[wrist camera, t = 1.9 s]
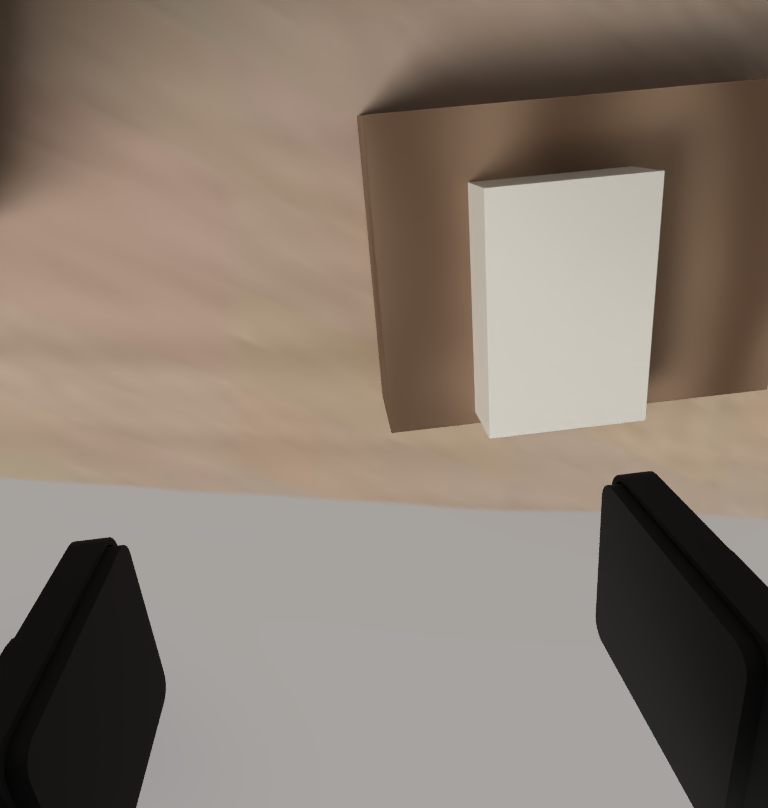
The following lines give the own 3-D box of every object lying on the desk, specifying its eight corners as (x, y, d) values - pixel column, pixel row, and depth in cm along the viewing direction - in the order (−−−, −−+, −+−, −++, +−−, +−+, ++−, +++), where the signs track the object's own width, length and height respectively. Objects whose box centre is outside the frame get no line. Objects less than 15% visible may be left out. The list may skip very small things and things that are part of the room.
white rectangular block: (631, 166, 24) (664, 170, 22) (617, 395, 27) (645, 420, 25) (467, 182, 24) (483, 188, 21) (475, 412, 27) (490, 438, 25)
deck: (747, 81, 27) (815, 73, 23) (714, 358, 32) (766, 389, 28) (357, 116, 26) (363, 114, 22) (382, 396, 31) (391, 433, 27)
